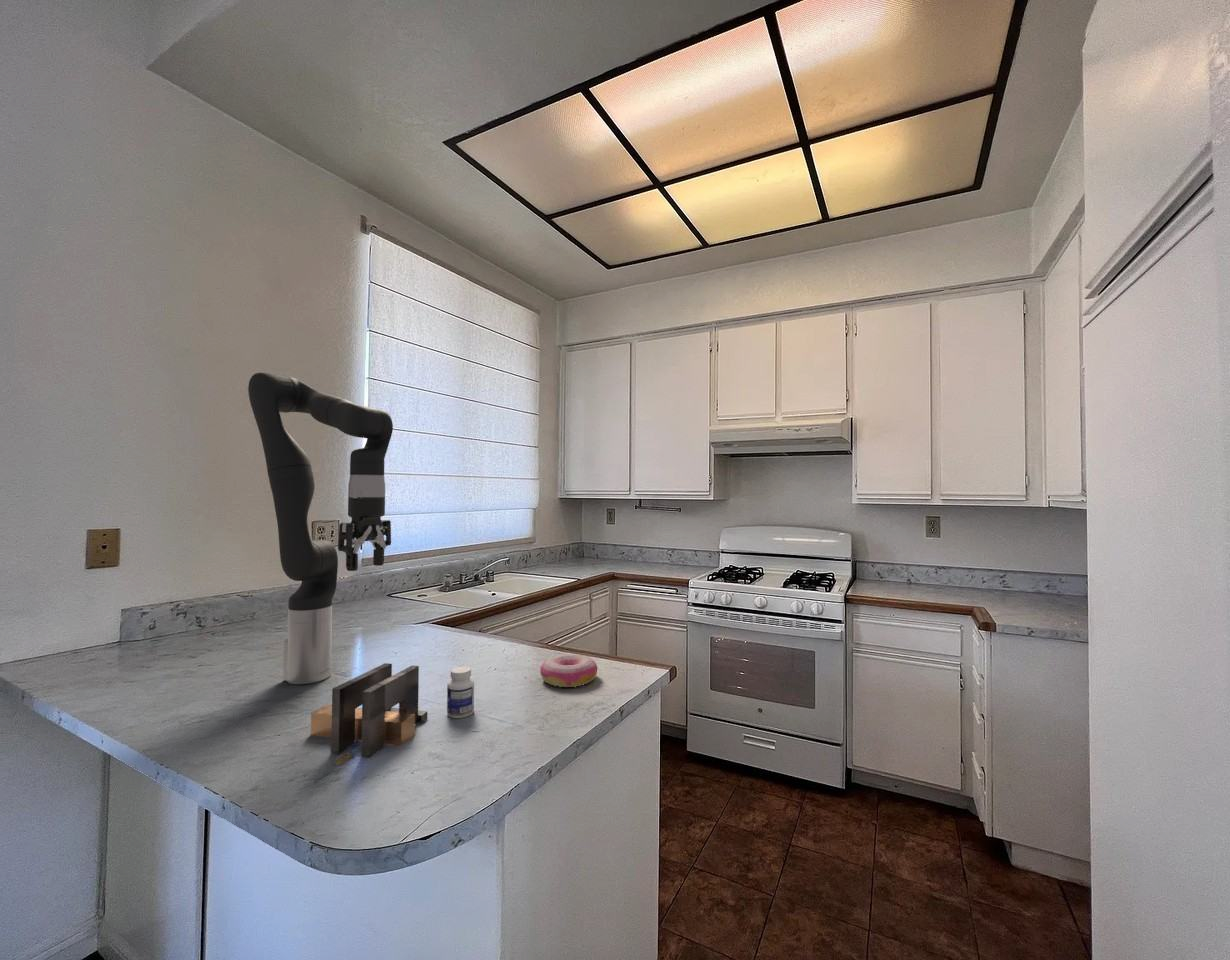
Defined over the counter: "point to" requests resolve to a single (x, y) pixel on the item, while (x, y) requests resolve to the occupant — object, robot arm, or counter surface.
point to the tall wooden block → (395, 727)
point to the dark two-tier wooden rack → (372, 707)
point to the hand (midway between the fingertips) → (365, 568)
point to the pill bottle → (460, 693)
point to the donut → (568, 670)
